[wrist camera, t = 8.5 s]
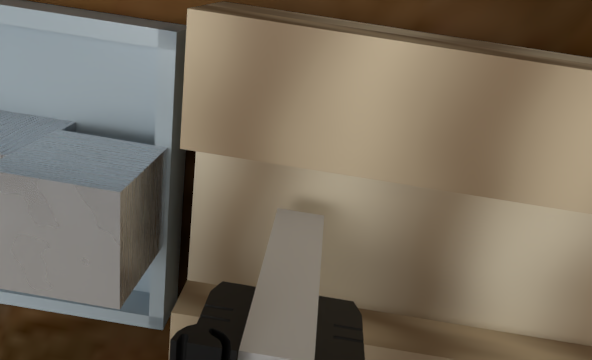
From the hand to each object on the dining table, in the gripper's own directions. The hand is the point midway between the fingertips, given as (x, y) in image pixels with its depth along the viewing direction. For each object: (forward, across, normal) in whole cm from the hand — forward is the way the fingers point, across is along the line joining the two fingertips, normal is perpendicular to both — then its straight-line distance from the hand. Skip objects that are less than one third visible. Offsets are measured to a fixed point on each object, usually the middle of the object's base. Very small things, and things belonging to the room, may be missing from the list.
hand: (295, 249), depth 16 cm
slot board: (+4, +4, 0) cm, 6 cm away
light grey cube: (+2, -7, 0) cm, 7 cm away
